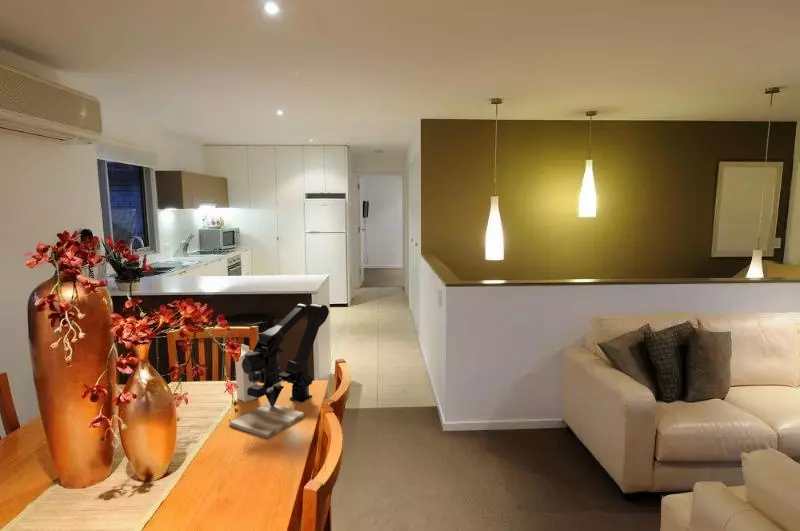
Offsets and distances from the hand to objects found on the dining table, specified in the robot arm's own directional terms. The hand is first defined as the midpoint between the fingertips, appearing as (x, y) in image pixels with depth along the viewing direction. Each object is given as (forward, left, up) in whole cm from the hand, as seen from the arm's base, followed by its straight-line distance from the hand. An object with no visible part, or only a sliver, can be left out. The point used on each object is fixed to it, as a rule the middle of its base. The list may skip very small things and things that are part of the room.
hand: (272, 405), depth 172 cm
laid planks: (+11, +5, -2) cm, 12 cm away
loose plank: (+1, +5, -1) cm, 5 cm away
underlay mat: (+7, +5, -2) cm, 9 cm away
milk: (-4, -17, -2) cm, 17 cm away
